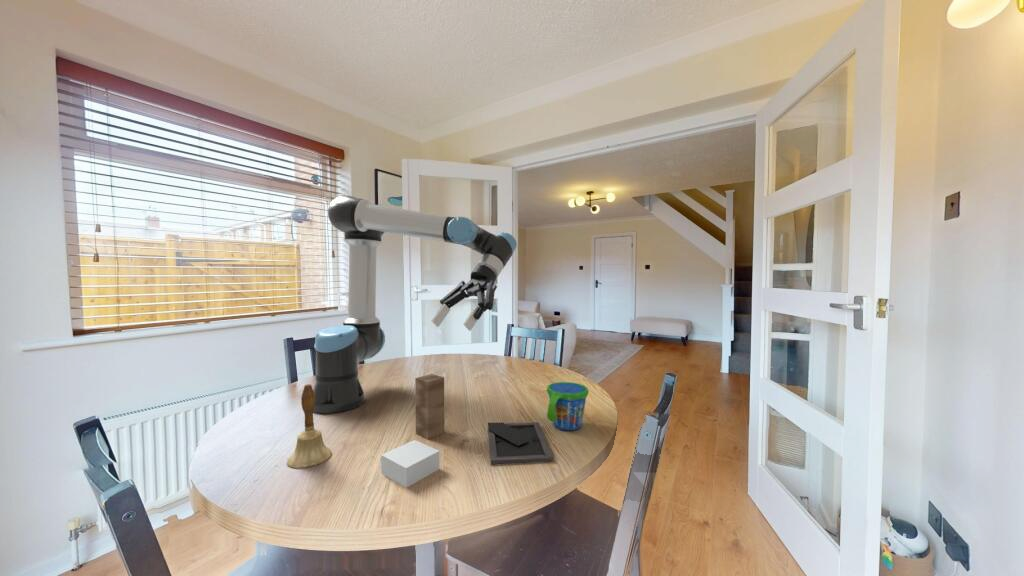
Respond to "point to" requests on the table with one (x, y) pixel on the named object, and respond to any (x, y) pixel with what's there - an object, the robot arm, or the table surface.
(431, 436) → the walnut block
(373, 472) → the table surface
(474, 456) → the table surface
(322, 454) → the hand bell
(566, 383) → the snack cup
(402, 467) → the white block
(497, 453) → the picture frame
